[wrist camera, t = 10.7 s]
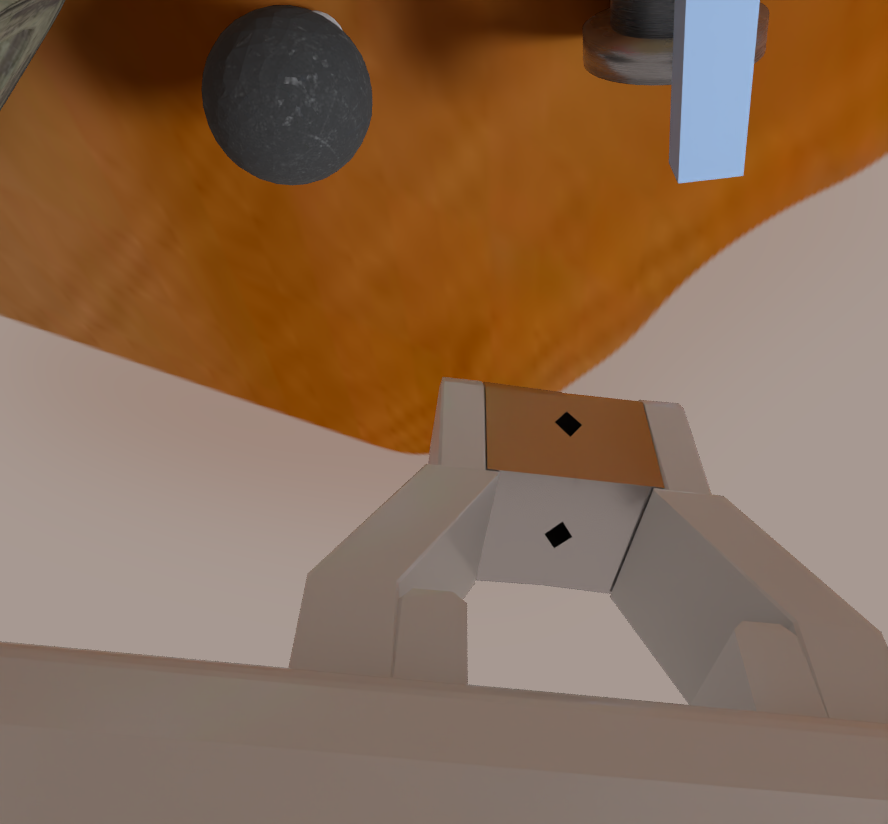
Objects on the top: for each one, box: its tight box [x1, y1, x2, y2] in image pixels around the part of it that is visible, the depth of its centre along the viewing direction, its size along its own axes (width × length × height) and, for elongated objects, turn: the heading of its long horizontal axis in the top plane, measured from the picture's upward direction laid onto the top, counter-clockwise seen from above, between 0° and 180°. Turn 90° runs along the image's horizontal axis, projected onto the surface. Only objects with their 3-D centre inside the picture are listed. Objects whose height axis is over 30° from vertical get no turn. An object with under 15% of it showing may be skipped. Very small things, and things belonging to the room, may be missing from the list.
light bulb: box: [202, 5, 372, 185], centre depth 29 cm, size 6×6×10 cm
